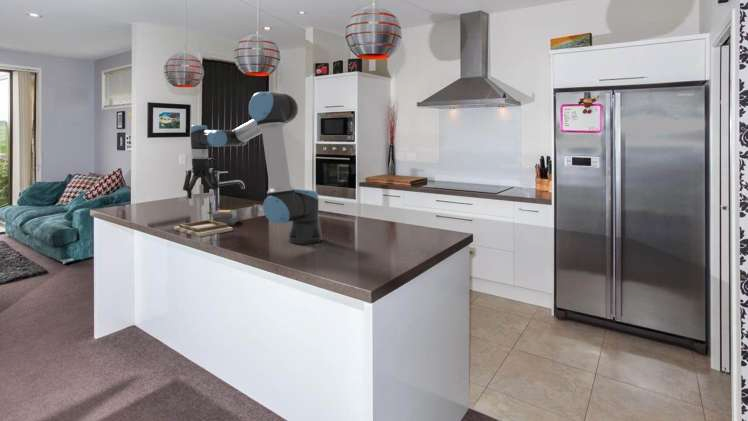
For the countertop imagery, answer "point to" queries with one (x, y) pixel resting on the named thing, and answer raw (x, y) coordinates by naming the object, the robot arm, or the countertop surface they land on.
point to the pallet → (203, 228)
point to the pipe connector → (202, 195)
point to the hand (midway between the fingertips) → (202, 203)
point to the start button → (224, 211)
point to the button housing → (226, 217)
